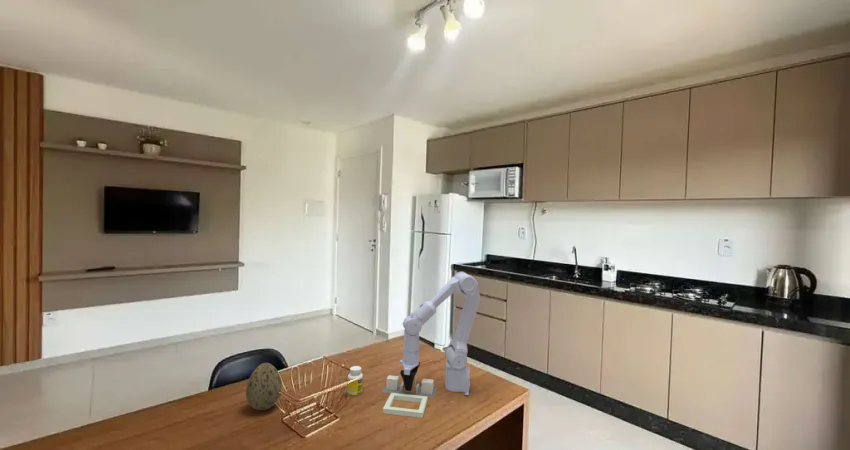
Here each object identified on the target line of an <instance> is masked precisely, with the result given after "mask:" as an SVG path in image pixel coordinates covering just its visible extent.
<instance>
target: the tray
mask: <svg viewBox="0 0 850 450" xmlns="http://www.w3.org/2000/svg"><path fill="white" fill-rule="evenodd" d="M428 400H429V399H428V397H427V396H418V395H408V394H399V393H389V396H388V398H387V400H386V402H385V404H384V406H383V408H382V414H387V415H394V416H395V415H396V416H402V417H411V418H413V417H414V418H420V419H422V418H423V417H424V414H425V411H426V406H427V403H428ZM394 401H403V402H412V403H420V404H419V408H418V409H414V408H405V407H397V406H393V404H394Z"/></svg>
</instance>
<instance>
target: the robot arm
mask: <svg viewBox="0 0 850 450" xmlns="http://www.w3.org/2000/svg"><path fill="white" fill-rule="evenodd" d="M453 294H462V295H463V297H464V298H465V300H464V304H463V306H462V309H461V313H460V317H459V319H458V323H457V327H456V330H455V331H454V336H453V338H451V340H450V341H449V344H448V346H446V348H445V349H444V357H445V358H446V363H445V377H444V387H445V389H446V390H447V391H449V392H455V393H456V392H463V393H464V396H469V395H470V388H471V382H470V381H471V378H470V377H471V367H469V366H467V363H468V350H469V349H468V342H469V338H470V334H471V331H472V329H473V325H474V322H475V319H476V315H477V312H478V309H479V305H480V302H481V294H480V290H479V282H478V281H477V279H476V277H474V276H472V275H470V274H468V273H466V272H465V271H458V272H455V275H453V276H452V277H451V278H449V280H448V281H447V282H446V283H445V285H443V287H442V288H441V289H440V290H439V291H437V293H436V294H435V295H434V296H433V297H432V298H431V300H429V301H427V300H425V301H424V302H421V303H420V304H419V307H418V308H417V309H416V310H415V311H413V312H410V315H407V316H406V317H405V318H404V319H403V321H402V326H403V328H404V331H403V348H402V349H403V350H402V355H403V356H402V359H399V363H400V364H402V366H403V369H401V370H400V377H401V379H402V382H404V387H405V391H411V389H412V385H413V380H414V377H415V375H416V376H417V374H418V369H419V367H420V365H421V362H420V360H419V358H420V332H421V331H422V327H423V326H424V325H425V324H426V323H427V322H428V321H429V320H430V319H431V318H432V317H433V316H434V315H436V312H437V308H438V307H439V306H440V305H441V304H443V302H445V301H446V300H447V299H448V298H449V297H450V296H451V295H453Z"/></svg>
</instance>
